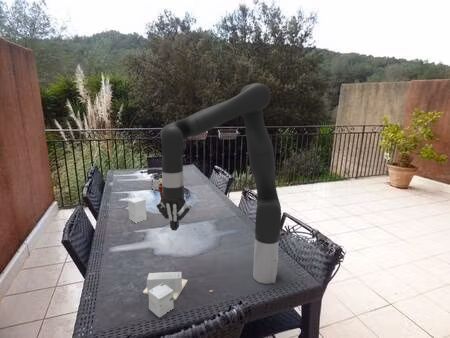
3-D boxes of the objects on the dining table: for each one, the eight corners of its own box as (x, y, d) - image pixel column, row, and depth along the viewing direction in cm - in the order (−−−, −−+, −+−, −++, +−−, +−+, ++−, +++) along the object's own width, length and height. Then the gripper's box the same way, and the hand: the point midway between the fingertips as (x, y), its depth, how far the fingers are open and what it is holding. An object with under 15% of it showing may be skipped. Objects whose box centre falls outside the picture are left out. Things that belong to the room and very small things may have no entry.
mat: (187, 281, 112) (187, 280, 111) (175, 300, 101) (175, 298, 101) (157, 275, 115) (157, 274, 115) (142, 293, 104) (142, 291, 104)
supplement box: (147, 220, 164) (146, 199, 161) (135, 224, 159) (134, 202, 156) (140, 216, 169) (139, 196, 166) (128, 220, 164) (127, 199, 161)
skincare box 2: (159, 318, 93) (158, 299, 91) (148, 309, 97) (147, 290, 95) (174, 308, 97) (173, 290, 95) (163, 300, 101) (162, 282, 99)
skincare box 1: (181, 271, 107) (148, 271, 106) (181, 278, 103) (146, 279, 102) (181, 285, 109) (149, 285, 107) (181, 293, 104) (147, 293, 103)
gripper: (195, 182, 100) (195, 227, 105) (160, 179, 103) (162, 223, 108) (186, 188, 93) (187, 236, 98) (150, 185, 96) (152, 231, 101)
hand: (174, 229), depth 103 cm, fingers closed
